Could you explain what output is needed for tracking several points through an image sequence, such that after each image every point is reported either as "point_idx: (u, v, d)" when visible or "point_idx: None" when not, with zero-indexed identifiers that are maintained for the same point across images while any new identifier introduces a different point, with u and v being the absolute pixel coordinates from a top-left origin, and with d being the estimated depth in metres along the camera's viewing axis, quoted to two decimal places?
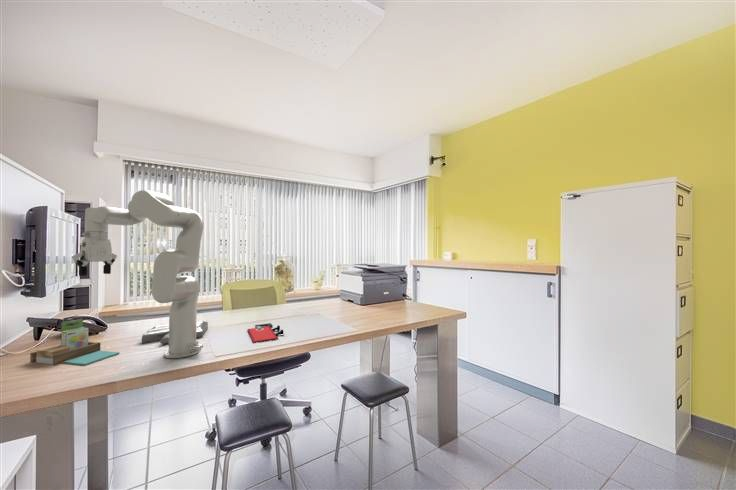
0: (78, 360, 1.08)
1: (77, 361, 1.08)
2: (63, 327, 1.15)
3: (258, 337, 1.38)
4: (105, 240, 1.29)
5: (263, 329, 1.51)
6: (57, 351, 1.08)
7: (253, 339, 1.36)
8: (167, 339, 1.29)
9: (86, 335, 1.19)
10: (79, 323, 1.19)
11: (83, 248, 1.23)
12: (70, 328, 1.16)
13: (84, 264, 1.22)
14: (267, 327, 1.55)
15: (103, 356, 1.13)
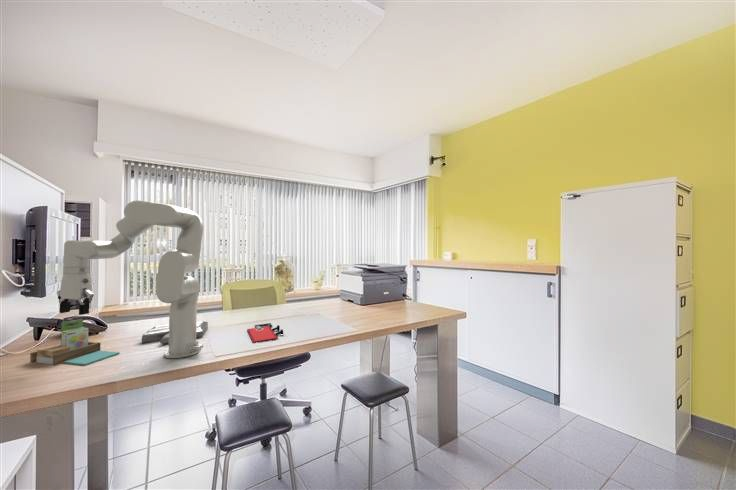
0: (78, 360, 1.08)
1: (77, 361, 1.08)
2: (63, 327, 1.15)
3: (257, 337, 1.38)
4: None
5: (263, 329, 1.51)
6: (57, 351, 1.08)
7: (253, 339, 1.36)
8: (167, 339, 1.29)
9: (86, 335, 1.19)
10: (79, 323, 1.19)
11: (85, 285, 1.16)
12: (70, 328, 1.16)
13: None
14: (267, 327, 1.54)
15: (103, 356, 1.13)
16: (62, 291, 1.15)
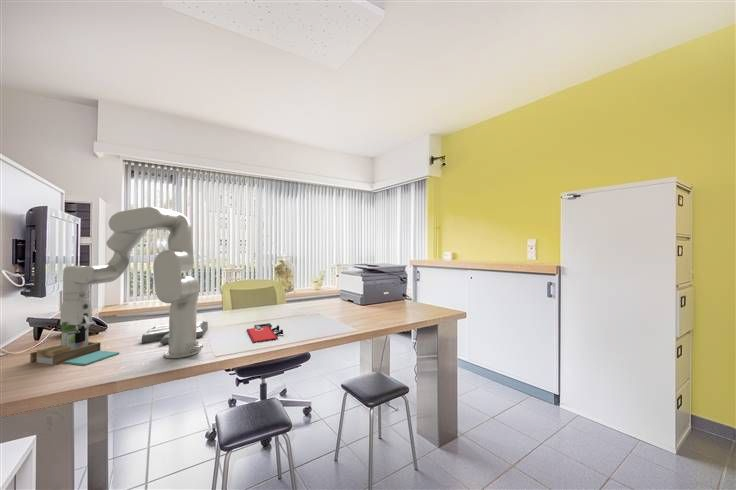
0: (78, 360, 1.08)
1: (77, 361, 1.08)
2: (63, 327, 1.15)
3: (257, 337, 1.38)
4: None
5: (262, 329, 1.51)
6: (58, 351, 1.08)
7: (253, 339, 1.36)
8: (167, 339, 1.29)
9: (86, 335, 1.19)
10: None
11: (85, 310, 1.16)
12: (70, 328, 1.17)
13: None
14: (266, 327, 1.54)
15: (103, 356, 1.13)
16: (62, 317, 1.15)
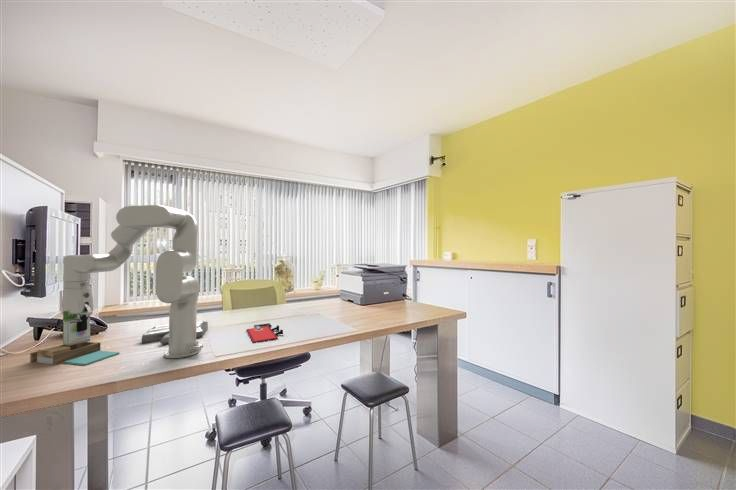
0: (78, 360, 1.08)
1: (77, 361, 1.08)
2: (65, 316, 1.15)
3: (257, 337, 1.38)
4: None
5: (262, 329, 1.51)
6: (58, 351, 1.08)
7: (253, 339, 1.36)
8: (167, 339, 1.29)
9: (88, 324, 1.19)
10: None
11: (86, 299, 1.16)
12: (72, 317, 1.17)
13: None
14: (266, 327, 1.54)
15: (103, 356, 1.13)
16: (64, 306, 1.15)
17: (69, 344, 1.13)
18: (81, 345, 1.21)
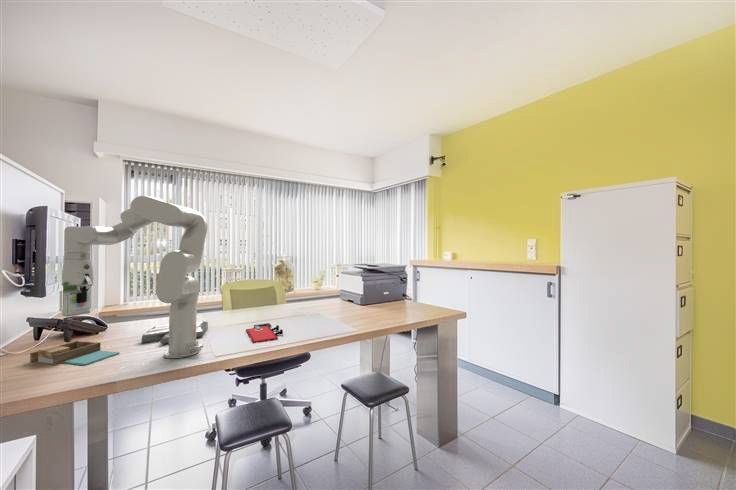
0: (78, 360, 1.08)
1: (77, 361, 1.08)
2: (64, 287, 1.15)
3: (257, 337, 1.38)
4: None
5: (262, 329, 1.51)
6: (56, 351, 1.08)
7: (253, 339, 1.36)
8: (167, 339, 1.29)
9: (87, 296, 1.19)
10: None
11: (86, 271, 1.16)
12: (71, 289, 1.17)
13: None
14: (266, 327, 1.54)
15: (103, 356, 1.13)
16: (64, 277, 1.15)
17: (68, 315, 1.13)
18: (81, 345, 1.21)
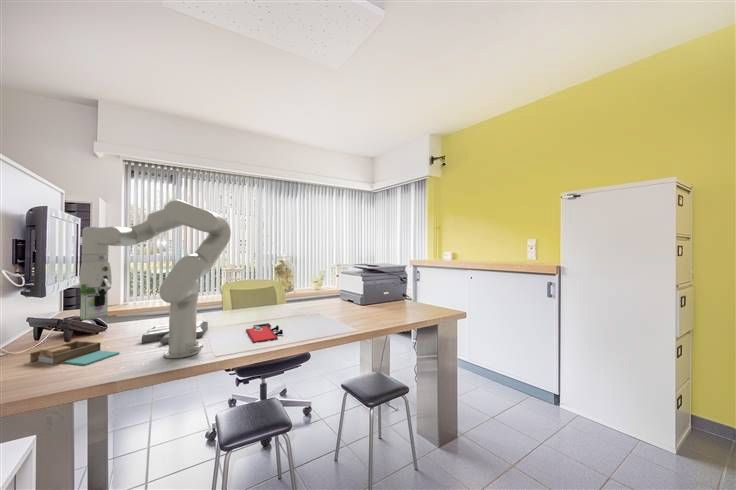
0: (78, 360, 1.08)
1: (77, 361, 1.08)
2: (82, 289, 1.11)
3: (257, 337, 1.38)
4: None
5: (262, 329, 1.51)
6: (57, 351, 1.08)
7: (253, 339, 1.36)
8: (167, 339, 1.29)
9: (105, 299, 1.15)
10: None
11: (105, 273, 1.12)
12: (89, 291, 1.12)
13: None
14: (266, 327, 1.54)
15: (103, 356, 1.13)
16: (81, 279, 1.11)
17: (86, 318, 1.09)
18: (81, 345, 1.21)
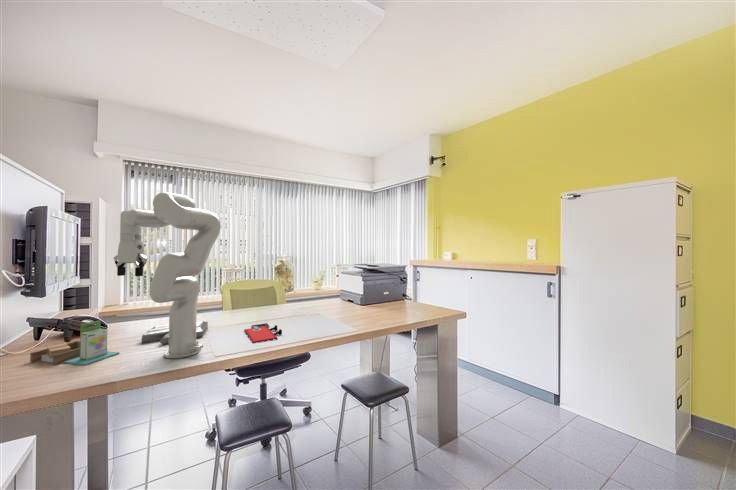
0: (78, 360, 1.08)
1: (77, 361, 1.08)
2: (82, 329, 1.10)
3: (256, 337, 1.38)
4: None
5: (260, 329, 1.51)
6: (56, 351, 1.08)
7: (252, 339, 1.36)
8: (167, 339, 1.29)
9: (105, 337, 1.14)
10: (97, 325, 1.15)
11: (139, 250, 1.31)
12: (89, 330, 1.12)
13: None
14: (264, 327, 1.54)
15: (103, 356, 1.13)
16: (119, 256, 1.30)
17: (87, 358, 1.09)
18: None
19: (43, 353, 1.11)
